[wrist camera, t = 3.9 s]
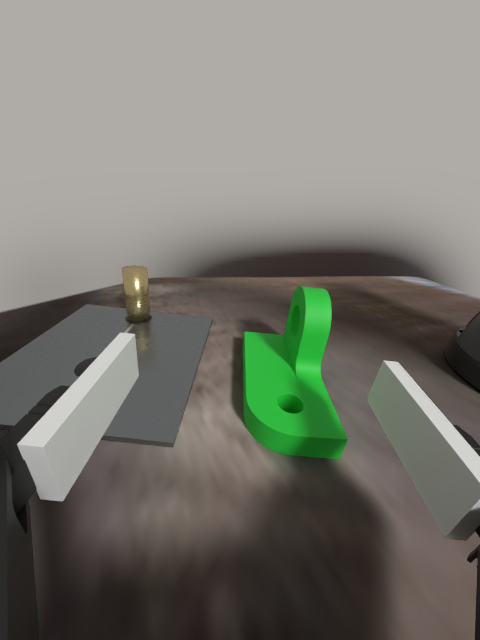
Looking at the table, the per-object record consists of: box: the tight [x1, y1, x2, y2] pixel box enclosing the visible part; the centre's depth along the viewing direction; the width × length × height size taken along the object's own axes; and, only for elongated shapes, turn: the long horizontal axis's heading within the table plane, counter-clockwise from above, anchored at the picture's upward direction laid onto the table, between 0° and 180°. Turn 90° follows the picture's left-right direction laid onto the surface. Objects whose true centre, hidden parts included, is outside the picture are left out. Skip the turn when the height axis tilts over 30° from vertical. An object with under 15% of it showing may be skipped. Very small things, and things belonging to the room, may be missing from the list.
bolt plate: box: [0, 266, 213, 447], centre depth 22 cm, size 15×17×6 cm
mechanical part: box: [243, 286, 348, 459], centre depth 20 cm, size 12×6×8 cm, turn 0°
